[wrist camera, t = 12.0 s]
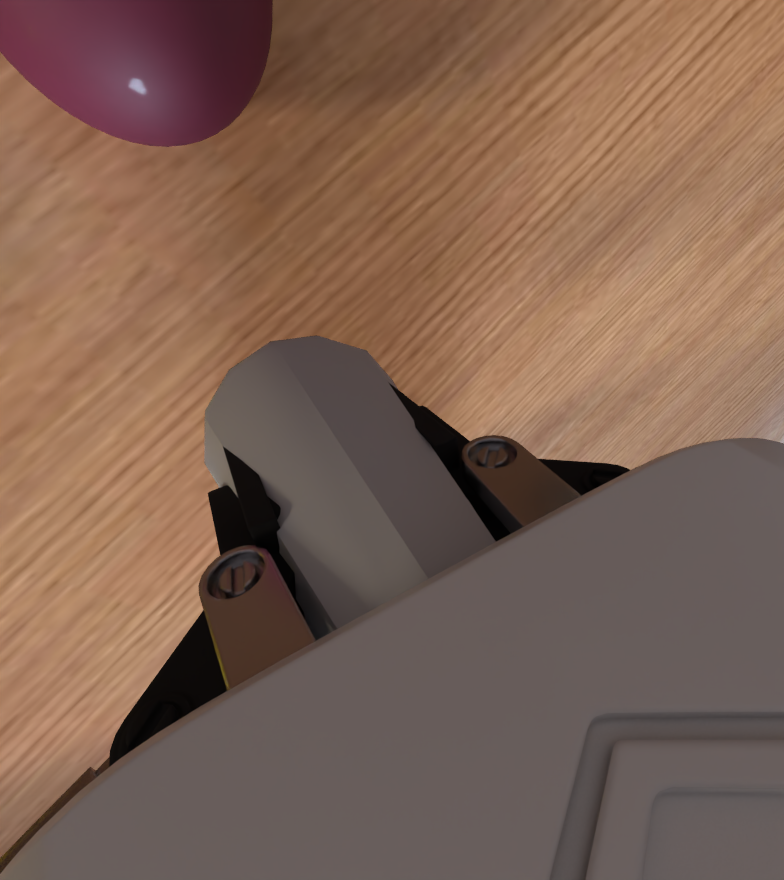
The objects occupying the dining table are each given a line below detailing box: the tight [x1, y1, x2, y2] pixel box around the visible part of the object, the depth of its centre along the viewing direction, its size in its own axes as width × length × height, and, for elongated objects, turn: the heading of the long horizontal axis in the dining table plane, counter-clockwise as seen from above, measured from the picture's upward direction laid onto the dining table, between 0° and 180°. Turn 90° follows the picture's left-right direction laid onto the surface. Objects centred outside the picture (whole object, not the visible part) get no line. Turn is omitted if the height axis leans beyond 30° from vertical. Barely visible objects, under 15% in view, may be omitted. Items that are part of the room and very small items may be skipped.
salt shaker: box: [205, 336, 496, 641], centre depth 9 cm, size 6×6×13 cm
